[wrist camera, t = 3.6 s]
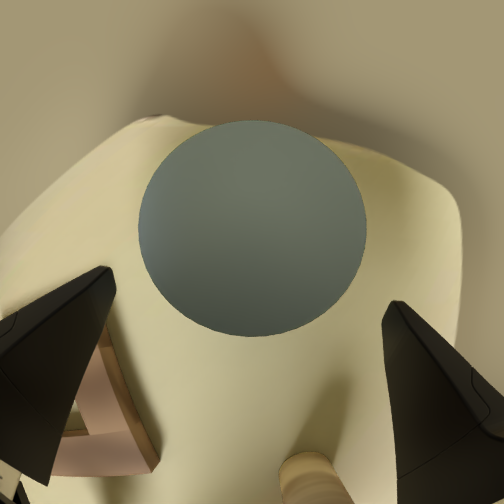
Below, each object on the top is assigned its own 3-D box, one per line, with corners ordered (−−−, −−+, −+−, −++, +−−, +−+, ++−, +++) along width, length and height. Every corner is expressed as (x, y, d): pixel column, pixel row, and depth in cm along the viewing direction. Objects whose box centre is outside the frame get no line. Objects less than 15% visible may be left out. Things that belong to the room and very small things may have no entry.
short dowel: (336, 479, 15) (362, 525, 9) (288, 497, 15) (298, 548, 9) (322, 443, 16) (348, 486, 10) (271, 462, 15) (278, 512, 10)
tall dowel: (289, 311, 18) (400, 282, 4) (234, 331, 18) (178, 369, 4) (269, 257, 19) (308, 102, 5) (214, 277, 18) (121, 160, 5)
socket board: (160, 460, 15) (151, 473, 13) (46, 466, 14) (34, 473, 12) (99, 299, 18) (84, 297, 16) (0, 337, 17) (-15, 336, 15)
